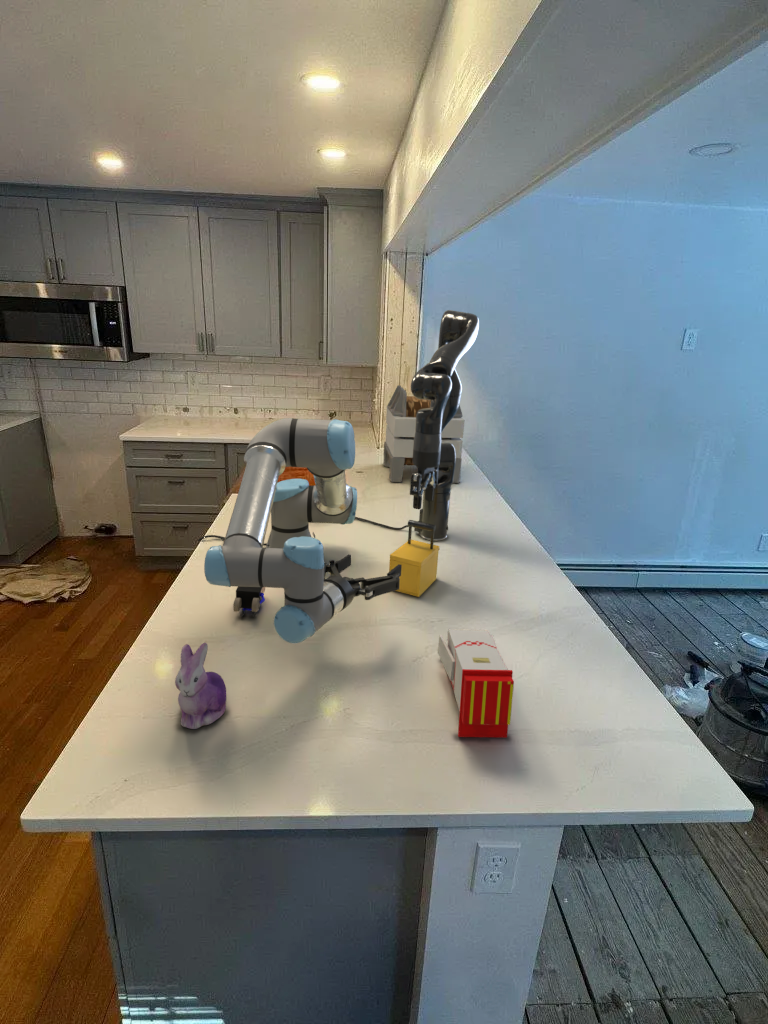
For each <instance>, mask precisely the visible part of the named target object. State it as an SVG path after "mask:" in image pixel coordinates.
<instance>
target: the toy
mask: <svg viewBox="0 0 768 1024" xmlns="http://www.w3.org/2000/svg"><path fill="white" fill-rule="evenodd" d="M446 640H447V643H446V641H445V639H444V636H443V635H442V634H439V637H438V646H437V656H438V657H439V659H440V661H441V663H442V666H443V668H444V670H445V672H446V674H447V677H448V679H449V681H450V684H451V687H452V690H453V693H454V697H455V701H456V705H457V708H458V711H459V714H458V715H459V716H458V730H457V731H458V732H457V737H458V738H508V731H509V726H510V725H511V717H512V707H513V697H514V696H513V695H514V684H515V680H514V679H513V673H514V671H513V670H512V669H508V667H507V665H506V662H505V661H504V659H503V658H502V655H501V653H500V651H499V649H498V647H497V643H496V639H495V637H494V635H493V634H491V632H490V631H489V629H467V628H466V629H465V628H463V629H461V628H460V629H459V628H448V630H447V639H446Z"/></svg>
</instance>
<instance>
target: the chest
mask: <svg viewBox="0 0 768 1024" xmlns="http://www.w3.org/2000/svg"><path fill="white" fill-rule="evenodd" d="M438 562H439V551H438V552H437V553H436V554H434V555H433V556H432V557H431V558H430V559H429V560H428V561H427V562H426V563H425V564H424V565H422V566H421V567H420V566H416V565H412V564H408V563H404V562H400V561H396V560H392V559H390V558H389V567H388V572H390V571H391V570H392V569H393V568H395V567H396V566H397V565H398V564H400V565H402V566H401V576H400V577H399V578H400V585H399V589H398V590H395V591H394V592H399V593H402V594H406V595H410V596H413V597H417V598H420V597H421V596H422V595H423V593H425V592H426V591H427V589H428V588H429V587H431V585H432V584H433V583H434V582H435V581H436V580H437V576H438V575H437V574H438Z"/></svg>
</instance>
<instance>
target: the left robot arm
mask: <svg viewBox="0 0 768 1024" xmlns="http://www.w3.org/2000/svg"><path fill="white" fill-rule="evenodd" d="M355 461H356V440H355V431H354V427H353V425H352V423H350V422H349V421H347V420H339V419H337V418H336V419H317V418H316V419H315V418H314V419H312V418H293V417H286V418H285V417H284V418H281V419H276V420H275V421H272V422H271V423H269V424H267V425H266V426H264V427H263V428H262V429H260V430H259V431H258V432H257V433H256V434H255V435H254V436H253V438H252V439H251V440H250V442H249V444H248V445H247V446H246V449H245V453H244V455H243V463H244V466H245V469H244V472H243V475H242V479H241V482H240V485H239V488H238V492H237V495H236V499H235V502H234V506H233V510H232V512H231V516H230V520H229V523H228V527H227V529H226V533H225V536H223V535H217V534H216V535H215V534H207V535H203V536H201V537H200V538H199V539H197V542H201V541H202V540H204V539H208V538H215V539H221V540H223V544H222V545H221V544H219V545H212V546H210V547H209V549H207V550H206V553H205V556H204V567H203V570H204V571H203V572H204V577H205V580H206V581H207V583H209V584H210V585H212V586H220V587H228V588H231V587H238V586H239V587H265V588H271V589H283V590H284V593H283V594H284V595H283V597H284V606H281V607H280V609H278V610H277V611H276V614H275V615H274V617H273V626H274V630H275V632H276V634H277V635H278V636H279V638H280V639H281V640H283V641H285V642H286V643H289V644H293V645H295V644H301V643H302V642H303V641H306V640H307V639H308V638H310V637H312V636H313V635H314V634H315V633H316V632H318V630H320V629H321V628H322V627H323V626H325V625H326V624H327V623H329V622H330V621H331V620H332V619H333V618H334V617H336V616H337V615H339V614H340V613H341V612H343V610H345V609H346V608H347V607H348V606H350V605H351V604H352V601H353V600H354V599H355V598H357V597H359V596H362V597H364V600H365V601H370V600H372V599H373V598H376V597H380V596H382V595H385V594H388V593H392V592H396V591H395V590H398V589H399V585H400V578H399V577H400V576H401V566H402V565H400V564H398V565H397V566H396V567H395V568H393V569H392V570H391V571H390V572H389V571H388V572H386V575H382V576H376V577H369V578H365V577H356V578H353V577H348V576H342V575H341V573H342V572H343V571H345V570H347V569H348V568H349V567H351V566H352V554H347V555H345V556H344V557H343V558H341V559H339V560H337V561H335V560H333V559H330V560H329V562H328V564H327V562H325V557H324V555H325V554H324V545H323V543H322V542H321V540H319V539H318V538H316V535H315V533H314V531H312V534H311V531H310V527H309V526H310V524H311V523H312V524H331V525H333V524H335V525H351V524H353V523H354V522H355V520H356V519H355V517H356V515H357V514H356V512H357V508H358V507H357V506H358V490H357V488H356V487H353V486H350V485H348V483H347V478H346V471H347V470H351V469H352V468H353V467H354V465H355ZM289 467H290V468H306V469H307V470H308V472H309V473H310V474H312V475H313V481H314V484H315V485H316V486H315V485H310V482H309V481H308V480H307V479H303V478H289V479H284V480H281V481H279V477H280V476H281V475H282V474H283V473H284V472H285V469H286V468H289ZM269 521H270V524H271V525H270V526H271V527H270V528H271V529H270V533H269V536H268V538H267V539H268V540H267V542H265V539H266V534H267V529H268V525H269ZM309 523H310V524H309ZM312 536H313V537H312ZM204 537H205V538H204ZM327 573H328V574H329V576H328V577H327Z"/></svg>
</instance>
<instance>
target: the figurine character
mask: <svg viewBox="0 0 768 1024" xmlns="http://www.w3.org/2000/svg"><path fill="white" fill-rule="evenodd" d="M265 591H266V587H239V586H236V589H235V598H234V600H233V607H232V609H233V612H234V613H235V612H236V613H239V612H240V611H241V612H240V616H241V617H244V615H245V612H246V611H248V612H249V611H251V612H252V613H251V617H255V615H256V613H258V612H259V610H260V609H261V605H262V604H263V603H264V602H265V601H266V598H265Z"/></svg>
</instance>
